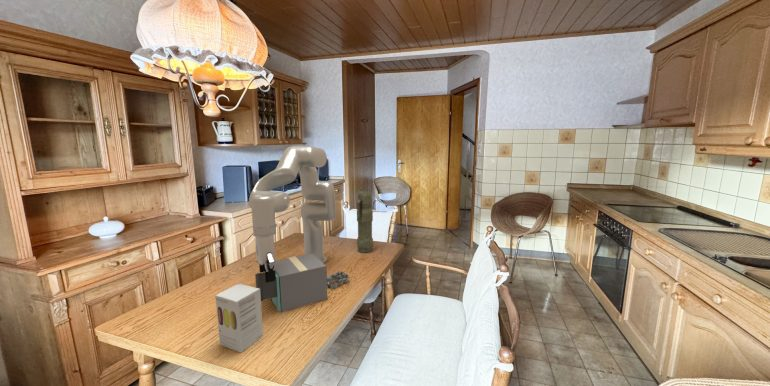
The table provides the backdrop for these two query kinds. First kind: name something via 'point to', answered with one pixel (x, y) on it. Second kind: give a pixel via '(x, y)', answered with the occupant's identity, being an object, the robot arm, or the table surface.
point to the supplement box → (239, 317)
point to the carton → (301, 281)
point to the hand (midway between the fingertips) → (267, 276)
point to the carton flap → (269, 289)
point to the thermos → (364, 221)
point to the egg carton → (337, 279)
